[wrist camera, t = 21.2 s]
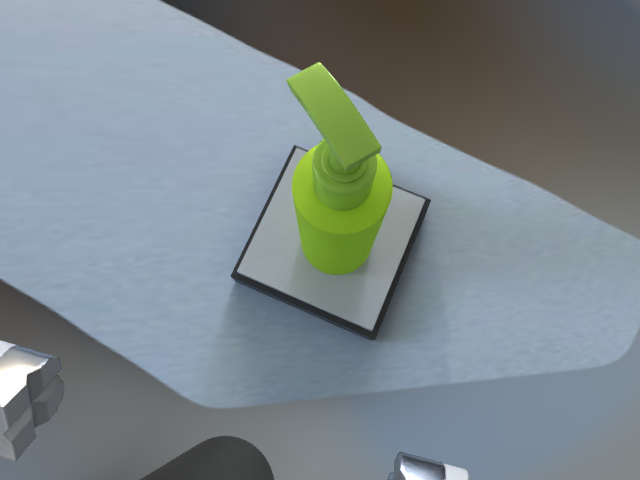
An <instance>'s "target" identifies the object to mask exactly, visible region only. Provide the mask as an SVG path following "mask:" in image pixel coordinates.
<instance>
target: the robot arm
mask: <svg viewBox="0 0 640 480" xmlns="http://www.w3.org/2000/svg"><path fill="white" fill-rule="evenodd" d="M60 370H61V363H60V358H57V357H54V356H50V355H47V354H44V353H40V352H37V351H34V350H30V349H27V348H24V347H21V346H18V345H14V344H11V343H7V342H4V341H0V457H2V458H6V459H9V460H13V461H17V460H18V458H19V457H20V456H21V455H22V453H23V452H24V451H25V450H26V449H27V447H28V446H29V445H30V443H31V442H32V441H33V440H34V439H35V437H36V427H37V426H39V425H41V424H44V423H46V422H48V421H49V420H50V419H51V417H52V416H53V415H54V414H55V412H56V411H57V409H58V407H59V405H60V403H61V401H62V398H63V393H64V383H63V381H62V380H61V378H60V377H59V376H58V375H57V373H58V372H59V371H60ZM387 480H469V476H468V473H467V471H466V470H465V469H462V468H458V467H454V466H450V465H447V464H443V463H442V462H438V461H434V460H430V459H427V458H423V457H419V456H415V455H411V454H407V453H403V452H399V453H398V454H397V457H396V459H395V463H394V471H393V472H392V473H390V474H389V476H388V479H387Z"/></svg>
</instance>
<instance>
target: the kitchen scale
mask: <svg viewBox="0 0 640 480" xmlns="http://www.w3.org/2000/svg"><path fill="white" fill-rule="evenodd" d="M307 152H308V150H306V149H303V148H301V147H298V146H296V145H294V146H293V149H292V151H291V153H290V155H289V157H288V159H287V161H286V163H285V165H284V167H283V169H282V171H281V173H280V175H279V177H278V179H277V182H276V184H275V186H274V188H273V190H272V192H271V194H270V196H269V198H268V200H267V202H266V204H265V206H264V208H263V210H262V212H261V215H260V217H259V219H258V221H257V223H256V225H255V227H254V229H253V231H252V233H251V235H250V237H249V239H248V241H247V243H246V245H245V248H244V250H243V252H242V254H241V256H240V258H239V260H238V262H237V264H236V266H235V268H234V270H233V272H232V274H231V277H232V278H233V279H234V280H235V281H236V282H239V283H241V284H243V285H245V286H248V287H250V288H252V289H255V290H257V291H259V292H261V293H264V294H266V295H268V296H271V297H273V298H275V299H277V300H280V301H282V302H284V303H287V304H289V305H291V306H293V307H296V308H298V309H300V310H302V311H305V312H307V313H309V314H312V315H314V316H316V317H318V318H321V319H323V320H325V321H328V322H330V323H332V324H334V325H337V326H339V327H341V328H344V329H346V330H348V331H350V332H353V333H355V334H357V335H360V336H362V337H364V338H366V339H369V340H371V341H373V340H374V339H375V338H376V335H377V333H378V331H379V328H380V326H381V323H382V321H383V318H384V316H385V313H386V311H387V308H388V306H389V303H390V301H391V298H392V296H393V293H394V291H395V288H396V286H397V283H398V281H399V278H400V276H401V273H402V271H403V268H404V266H405V263H406V261H407V258H408V256H409V253H410V251H411V248H412V246H413V243H414V241H415V239H416V236H417V234H418V231H419V229H420V226H421V224H422V221H423V219H424V216H425V214H426V211H427V209H428V206H429V204H430V201H431V200H430V199H428V198H425V197H423V196H420V195H418V194H415V193H413V192H410V191H408V190H405V189H403V188H401V187H398V186H396V185H393V192H392V198H391V202H390V204H389V207H388V209H387V212H386V214H385V217H384V219H383V222H382V224H381V226H380V229H379V231H378V234H377V236H376V239H375V241H374V244H373V246H372V249H371V251H370V254H369V256H368V258H367V259H366V261H365V262H364V263H363V264H362V265H361V266H360V267H359V268H357V269H356V270H354V271H352V272H350V273H347V274H343V275H331V274H327V273H324V272H321V271H319V270H318V269H316V268H315V267H314V266H312V265H311V264H310V263H309V261H308V260H307V258H306V257H305V255H304V252H303V250H302V245H301V239H300V234H299V228H298V223H297V217H296V211H295V206H294V200H293V195H292V179H293V174H294V171H295V169H296V166H297V165H298V163H299V161H300V160H301V158H302V157H303V156H304V155H305V154H306V153H307Z"/></svg>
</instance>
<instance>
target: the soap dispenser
mask: <svg viewBox="0 0 640 480" xmlns="http://www.w3.org/2000/svg"><path fill="white" fill-rule="evenodd" d="M286 81H287V83H288V85H289V88H290V90H291V92H292V93H293V94H294V96H295V97H296V98H297V100H298V101H299V102H300V104H301V105H302V106H303V108H304V109H305V111H306V112H307V114H308V115H309V117H310V118H311V119H312V121H313V122H314V124H315V126H316V127H317V129H318V130H319V132H320V133H321V135H322V136H323V138H324V139H323V140H322V141H321V142H320V143H319V144H318V145H317V146H315V147H313V148H312V149H311V150H309V151H308V152H307V153H306V154H305V155H304V156H303V157H302V158H301V160H300V161H299V163H298V165H297V166H296V169H295V171H294V174H293V179H292V195H293V200H294V206H295V211H296V217H297V223H298V228H299V234H300V239H301V245H302V250H303V252H304V255H305V257H306V258H307V260H308V261H309V263H310V264H311V265H312V266H314V267H315V268H316V269H318V270H319V271H321V272H324V273H327V274H331V275H343V274H347V273H350V272H352V271H354V270H356V269H357V268H359V267H360V266H361V265H362V264H363V263H364V262H365V261H366V259H367V258H368V256H369V254H370V251H371V249H372V246H373V244H374V241H375V239H376V236H377V234H378V231H379V229H380V226H381V224H382V222H383V219H384V217H385V214H386V212H387V209H388V207H389V204H390V202H391V198H392V192H393V182H392V176H391V173H390V170H389V168H388V166H387V164H386V162H385V161H384V160H383V158H382V157H381V156H380V155H379V154H378V153H380V151H381V145H380V144H379V142H378V141H377V139H376V137H375V136H374V134H373V133H372V131H371V130H370V128H369V127H368V125H367V124H366V122H365V121H364V119H363V118H362V116H361V115H360V113H359V112H358V110H357V109H356V107H355V106H354V104H353V103H352V101H351V100H350V99H349V97H348V96H347V94H346V93H345V92H344V90H343V89H342V88H341V86H340V85H339V84H338V83H337V81H336V80H335V79H334V78H333V77H332V76H331V74H330V73H329V72H328V71H327V70H326V69H325V68H324V66H323V65H322V64H321V63H320V62H318V63H316V64H314V65H312V66H310V67H308V68H307V69H305V70H303V71H301V72H299V73H297V74H296V75H294V76H292V77H290V78H289V79H287V80H286Z"/></svg>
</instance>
